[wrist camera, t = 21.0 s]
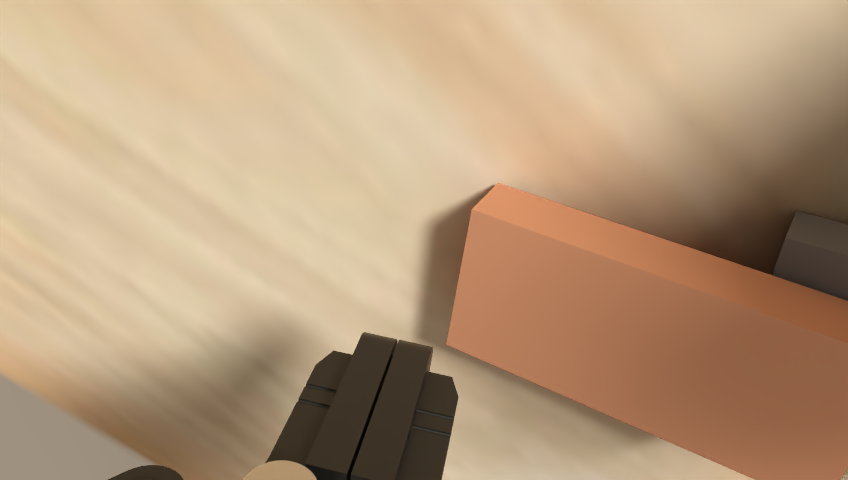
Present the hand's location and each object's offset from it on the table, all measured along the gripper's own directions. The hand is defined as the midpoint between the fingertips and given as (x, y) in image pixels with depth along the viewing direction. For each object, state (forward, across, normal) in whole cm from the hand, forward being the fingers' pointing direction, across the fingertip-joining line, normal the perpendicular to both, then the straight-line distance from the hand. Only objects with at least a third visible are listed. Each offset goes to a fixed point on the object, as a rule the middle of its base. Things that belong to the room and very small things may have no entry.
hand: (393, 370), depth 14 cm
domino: (+7, -1, +1) cm, 7 cm away
